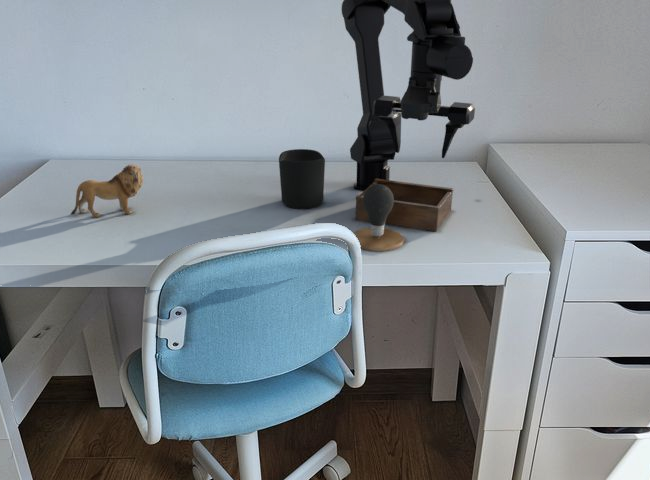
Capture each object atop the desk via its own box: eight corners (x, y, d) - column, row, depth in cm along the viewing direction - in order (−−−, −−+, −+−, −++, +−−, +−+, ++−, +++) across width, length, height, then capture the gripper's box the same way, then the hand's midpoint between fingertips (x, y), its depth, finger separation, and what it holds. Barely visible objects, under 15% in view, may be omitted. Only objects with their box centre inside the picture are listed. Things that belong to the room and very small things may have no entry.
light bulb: (396, 234, 131) (399, 182, 126) (384, 245, 127) (387, 191, 122) (369, 229, 133) (371, 178, 128) (356, 239, 129) (358, 186, 124)
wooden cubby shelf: (354, 220, 139) (355, 196, 137) (375, 200, 149) (375, 178, 147) (436, 232, 134) (438, 208, 132) (451, 210, 145) (453, 188, 142)
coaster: (342, 246, 127) (342, 243, 127) (360, 227, 135) (360, 224, 135) (394, 254, 125) (394, 251, 124) (409, 235, 133) (409, 232, 132)
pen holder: (333, 200, 149) (333, 153, 144) (310, 213, 142) (309, 164, 137) (295, 192, 153) (294, 146, 147) (271, 205, 145) (269, 157, 140)
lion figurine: (144, 203, 145) (138, 160, 140) (149, 212, 140) (143, 167, 136) (69, 213, 139) (60, 168, 134) (72, 222, 135) (63, 176, 130)
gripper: (364, 73, 125) (362, 160, 133) (467, 81, 120) (458, 171, 128) (383, 64, 134) (379, 146, 142) (479, 71, 129) (470, 156, 137)
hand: (420, 155), depth 137 cm, fingers open, 9 cm apart
